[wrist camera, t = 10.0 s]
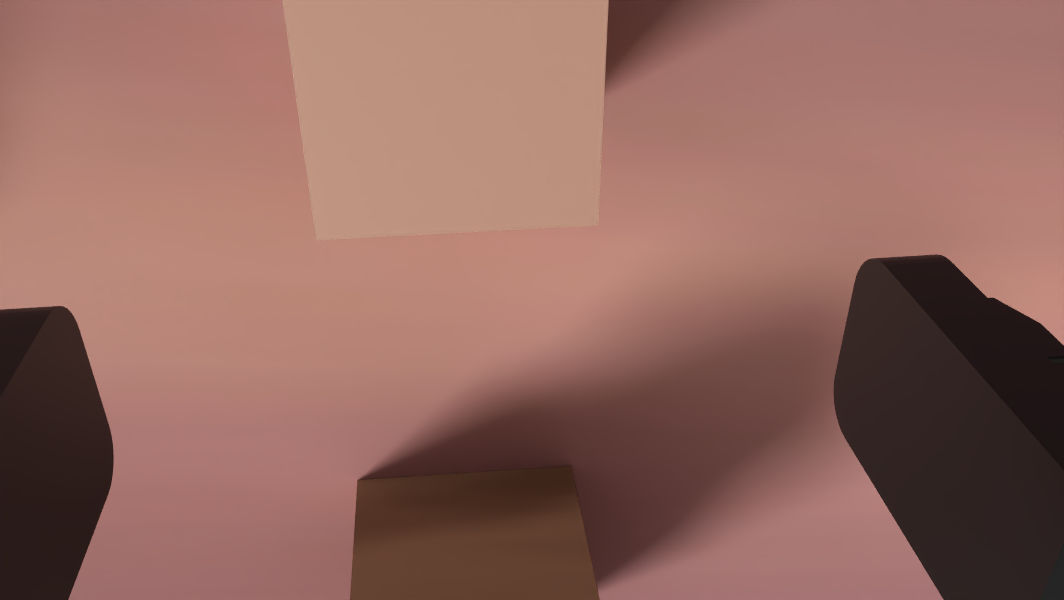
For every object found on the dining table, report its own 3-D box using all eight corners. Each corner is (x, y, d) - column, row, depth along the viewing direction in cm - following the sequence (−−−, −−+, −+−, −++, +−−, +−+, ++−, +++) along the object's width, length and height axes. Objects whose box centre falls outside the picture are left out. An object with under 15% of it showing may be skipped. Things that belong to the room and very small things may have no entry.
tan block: (304, -118, 18) (273, -59, 14) (564, -122, 18) (611, -67, 14) (333, 129, 21) (316, 239, 16) (559, 120, 21) (598, 225, 17)
